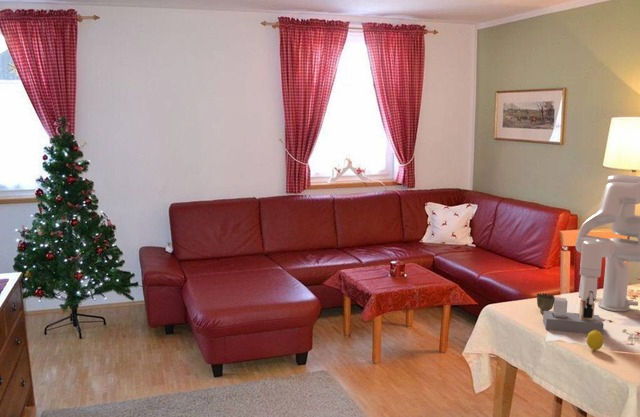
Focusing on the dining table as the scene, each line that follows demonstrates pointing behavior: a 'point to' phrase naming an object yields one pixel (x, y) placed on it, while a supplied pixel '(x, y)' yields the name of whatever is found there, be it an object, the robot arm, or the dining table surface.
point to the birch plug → (582, 306)
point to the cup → (545, 301)
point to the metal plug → (560, 307)
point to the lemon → (595, 340)
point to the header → (572, 323)
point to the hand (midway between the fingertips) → (586, 314)
